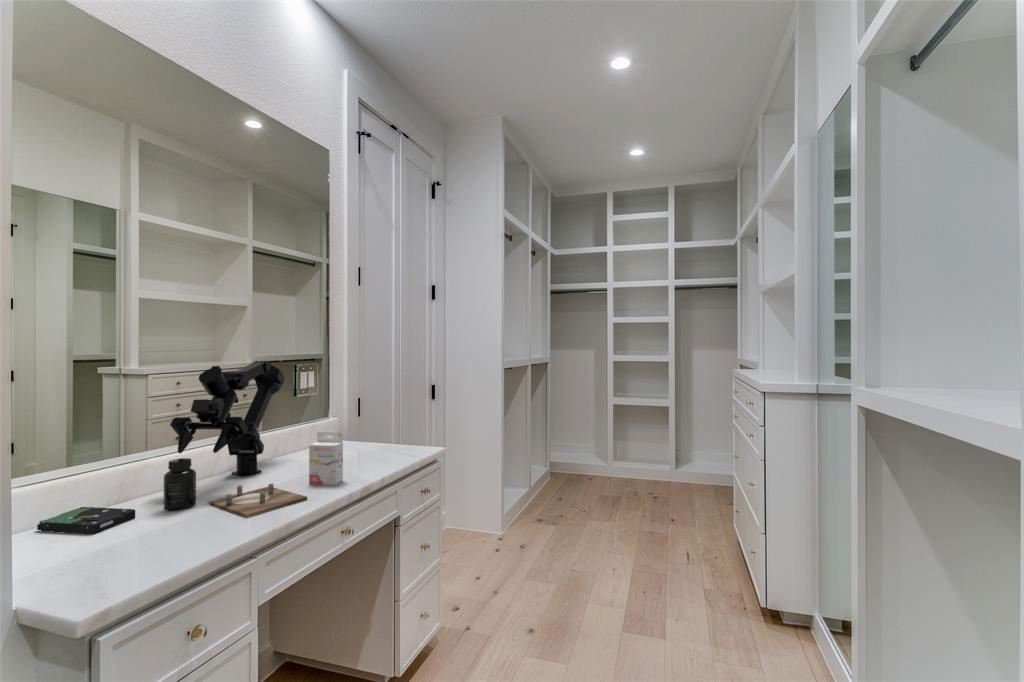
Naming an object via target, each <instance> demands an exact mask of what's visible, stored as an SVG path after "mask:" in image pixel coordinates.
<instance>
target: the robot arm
mask: <svg viewBox="0 0 1024 682" xmlns="http://www.w3.org/2000/svg"><path fill="white" fill-rule="evenodd" d="M252 380H254V382H255V384H256V388H257V390H256V392H255V395H254V396H253V399H252V401H251V403H250V406H249V408H248V409H247V412H246V414H245V417H244V419H243V417H242V416H232V414H231V413H230V411H231V409H232V408H233V405H234V404H239V400H240V399H239V397H238V394H237V393H236V391H244V390H246V388H247V387H248V386H249V385H250V381H252ZM198 381H199V383H200V384H201V386H202V387H203V388H204V390H205V392H206V394H208V395H209V396H212V397H211V399H204V398H203V399H201V398H200V399H193V401H192V404H191V407H190V412H191V413H195V415H196V419H198V420H199V421H192V419H191V417H190V416H184V417H183V416H178V417H177V416H176V417H173V418H172V420H171V421H170V424H169V425H170V427H171V428H172V429H173V431H175V433H176V434H177V436H178V442H177V443H178V444H177V453H178V454H182V453H183V452H184V451H185V450H186V448H187V447H188V446H189V444H190V443H191V442H192V440H193V439H194V436H193V435H195V434H196V431H197V430H209V431H221V432H220V435H219V436H218V438H217V441H216V442H215V444H214V447H213V449H212V452H213V453H214V454H217V453H218V452H219V451H221V450H222V449H223V448H224V447H225V446H227V450H228V454H229V456H236V470H234V471H232V472H231V474H232V475H235V476H239V477H245V476H249V475H254V474H259V473H262V472H263V471H262V469H258V455H261V454H263V453H264V450H265V449H264V448H265V444H264V442H263V441H262V439H261V435H260V432H259V427H260V425H261V423H262V420H263V417H264V415H265V413H266V410H267V408H268V405H269V403H270V401H271V399H272V396H273V395H274V394H276V393H277V392H278V391H280V390H281V387H283V384H284V383H285V375H284V374H283V372H282V371H281V369H280V368H278V367H276V366H274V365H273V364H272V363H271V362H270V361H267V360H255V361H252V363H250V364H248V365H246V366H244V367H241V368H239V369H237V370H226V371H225V370H224V371H222V368H221V367H220V365H215V366H214V365H212V366H211V368H209V369H206V370H204V371H203V372H201V373H200V374H199V376H198Z"/></svg>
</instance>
